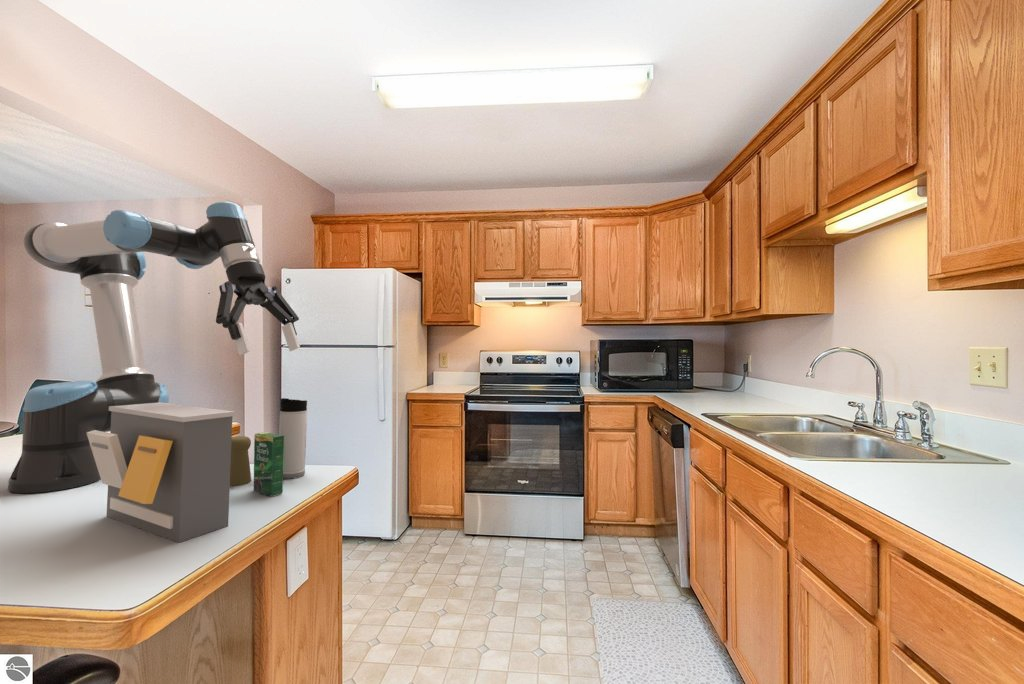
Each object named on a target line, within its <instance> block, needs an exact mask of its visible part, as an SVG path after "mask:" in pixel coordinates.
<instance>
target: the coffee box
mask: <svg viewBox="0 0 1024 684" xmlns="http://www.w3.org/2000/svg"><path fill="white" fill-rule="evenodd" d="M253 442H254V443H253V444H254V445H253V449H254V450H253V451H254V452H253V491H256V492H259V493H262V494H265V495H266V496H271V497H275V496H279V495H281V494H283V491H284V489H283V486H284V485H283V484H284V482H283V481H284V479H283V454H284V435H279V433H278V434H276V433H271V432H267V431H265V432H258V433H254V441H253Z"/></svg>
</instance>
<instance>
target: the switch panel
mask: <svg viewBox="0 0 1024 684" xmlns="http://www.w3.org/2000/svg"><path fill="white" fill-rule="evenodd" d="M109 411H111V431H110V432H109V433H113V434H117V436H118V439H119V442H120V446H121V449H122V452H123V456H124V459H125V462H126V466H127V469H128V466H129V463H130V460H131V458H132V455H133V452H134V449H135V446H136V443H137V440H138V438H139V435H140V436H149V437H154V438H160V439H165V440H170V441H173V442H172V445H171V448H170V451H169V454H168V457H167V461H166V464H165V467H164V470H163V473H162V476H161V479H160V482H159V485H158V488H157V491H156V494H155V497H154V500H153V503H152V504H142V503H139V502H136V501H133V500H130V499H126V498H123V497H120V496H118V495H119V492H120V488H117V487H114V486H110V485H107V503H106V517H107V518H110V519H112V520H114V521H118V522H121V523H123V524H126V525H128V526H131V525H132V526H131V527H134V526H135V527H134V528H137V527H138V528H137V529H140V528H141V529H140V530H142V529H143V531H145V530H146V531H145V532H148V531H149V532H148V533H151V534H153V533H154V534H153V535H156V536H159V537H162V538H165V539H168V540H169V541H172V542H176V543H183V542H185V541H188V540H191V539H194V538H197V537H200V536H202V535H206V534H209V533H212V532H214V531H218V530H220V529H223V528H226V527H229V517H230V516H229V515H230V514H229V513H230V509H229V508H230V493H231V492H230V490H231V489H230V488H231V486H230V466H231V441H232V437H233V417H236V411H232V410H226V409H216V408H210V407H209V408H207V407H200V406H194V405H192V406H191V405H184V404H178V403H176V404H175V403H169V402H168V403H162V402H159V403H147V404H134V405H122V406H109Z"/></svg>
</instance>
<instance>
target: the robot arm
mask: <svg viewBox="0 0 1024 684" xmlns="http://www.w3.org/2000/svg"><path fill="white" fill-rule="evenodd" d="M205 213H206V219H207V222H206V223H204V224H203V225H201V226H200V227H198V228H192V227H188V226H184V225H181V224H180V225H179V224H176V223H173V222H169V221H165V220H163V219H158V218H155V217H151V216H148V215H143V214H141V213H138V212H136V211H127V210H122V209H116V210H112V211H111V212H110V214H108V215H106V217H105V220H103V219H102V220H96V221H88V222H82V223H74V224H65V223H62V222H46V223H40V224H37V225H34V226H33V227H31V228H30V229H28V230H27V231H26V233H25V235H24V236H23V246H24V249H25V251H26V253H27V254H28V255H29V256H30V257H31V258H32V259H33V260H34V261H35V262H37V263H39V264H40V265H42V266H44V267H46V268H48V269H50V270H51V269H52V270H53V271H54V270H55V271H59V272H65V273H69V274H77V275H79V278H80V284H81V285H82V286H84V287H85V288H87V289H88V290H89V292H90V299H91V305H92V306H91V307H92V311H93V318H94V324H95V333H96V339H97V346H98V353H99V357H100V359H99V360H100V365H101V372H102V375H101V376H100V377H99V378H97V379H96V380H74V381H64V382H56V383H49V384H44V385H39V386H35V387H33V388H31V389H29V390H28V391H27V392H26V394H25V396H24V397H25V398H24V399H25V400H24V405H23V407H22V411H23V419H22V421H23V422H22V441H21V442H22V443H21V454H20V457H19V458H18V460H17V463H16V465H15V467H14V468H13V471H12V473H11V475H10V477H9V478H8V482H7V483H8V484H7V485H8V487H7V488H8V489H7V491H8V492H9V493H14V494H15V493H16V494H34V493H35V494H36V493H45V492H54V491H61V490H68V489H73V488H77V487H82V486H86V485H89V484H93V483H96V482H97V481H101V478H100V475H99V471H98V468H97V465H96V462H95V459H94V456H93V452H92V449H91V446H90V443H89V440H88V437H87V432H90V431H93V430H97V431H102V432H108V433H110V431H111V411H109V406H122V405H134V404H147V403H159V402H162V403H169V396H170V395H169V391H168V389H167V387H165V384H162V382H161V383H160V382H155V376H154V373H152V372H151V371H148V370H147V369H146V365H145V358H144V354H143V353H144V351H143V347H142V340H141V333H140V328H139V327H140V326H139V323H138V322H139V321H138V316H137V309H136V308H137V307H136V303H135V296H134V291H133V288H135V287H136V286H137V285H138V283H139V281H140V280H141V279H142V278H143V276H145V272H146V270H145V269H146V268H147V260H146V255H145V252H146V253H152V254H156V255H157V254H158V255H163V256H167V257H171V258H175V260H176V261H177V262H178V263H179V264H180V265H183V266H185V267H186V268H188V269H192V270H198V269H202V268H204V267H206V266H208V265H211V264H213V263H214V262H215V261H216V260H217V259H219V258H220V259H221V261H222V265H223V268H224V269H225V273H226V278H227V281H226V282H224V283H222V284H221V285H219V292H220V293H219V294H220V297H219V302H218V306H217V310H216V311H217V312H216V318H215V322H216V324H218V325H222V327H223V328H224V329H228V332H229V336H230V338H231V340H232V341H234V343H235V346H236V350H237V352H238V355H239V356H244V355H246V354H248V353H249V352H251V351H252V349H251V346H250V343H249V341H248V336H247V334H246V331H245V328H244V325H243V323H242V322H239V320H240V318H241V316H242V313H243V312H244V310H245V307H246V306H247V305H248V306H250V305H251V306H252V305H255V306H260V307H261V308H264V309H266V311H268V312H269V314H271V315H272V316H273V317H274V318H276V319H277V320H278V321H279V322H280V323H281V324H282V325H283V326H281V330H282V333H283V335H284V339H285V341H286V344H287V345H286V346H287V347H288V350H289V352H294V351H295V350H298V349H299V348H300V347H301V345H300V344H299V341H298V337H297V335H298V333H297V330H296V327H295V322H297V321H299V320H300V318H299V316H298V315H297V313H296V312H295V311H294V310H293V308H292V306H290V304H289V302H287V300H286V299H285V297H284V296H283V295H282V293H281V292H280V291H281V290H280V289H279V287H278V286H277V285H273V286H271V287H268V286H267V285H266V283H265V282H266V275H265V272H264V271H265V270H264V269H263V266H262V264H261V260H260V257H259V254H258V251H257V248H256V245H255V242H254V239H253V237H252V233H251V231H250V227H249V224H248V219H247V217H246V215H245V213H244V211H243V209H242V207H241V206H240V205H239V204H237V203H235V202H231V201H217V202H214V203H210V205H208V206H207V207H206V210H205ZM234 294H235V295H236V296H237V297H236V299H235V301H234V304H233V307H232V302H233V296H234Z"/></svg>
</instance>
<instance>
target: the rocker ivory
mask: <svg viewBox="0 0 1024 684" xmlns="http://www.w3.org/2000/svg"><path fill="white" fill-rule="evenodd" d="M87 437H88V440H89V443H90V446H91V449H92V452H93V456H94V459H95V462H96V465H97V468H98V471H99V475H100V478H101V479H100V481H101V484H104V485H107V486H108V485H110V486H114V487H117V488H120V489H121V486H122V483H123V480H124V478H125V475H126V472H127V466H126V462H125V459H124V456H123V452H122V449H121V446H120V442H119V439H118V436H117V434H113V433H110V432H102V431H97V430H93V431H90V432H87Z"/></svg>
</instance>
